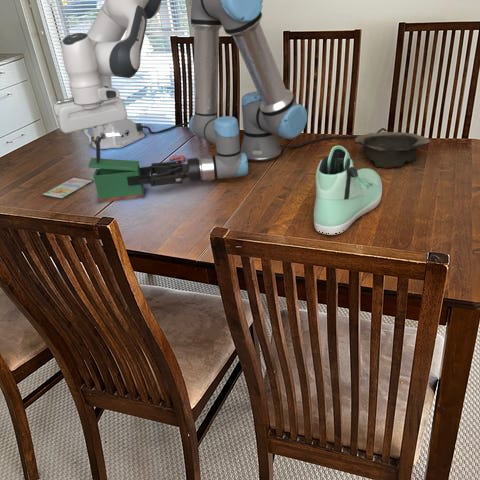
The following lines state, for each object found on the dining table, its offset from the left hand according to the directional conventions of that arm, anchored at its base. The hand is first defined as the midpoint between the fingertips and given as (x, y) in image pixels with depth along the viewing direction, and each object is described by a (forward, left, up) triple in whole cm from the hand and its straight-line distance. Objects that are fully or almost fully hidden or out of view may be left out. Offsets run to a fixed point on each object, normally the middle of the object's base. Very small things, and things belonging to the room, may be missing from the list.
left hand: (98, 140), depth 147 cm
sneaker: (-39, +65, -19) cm, 78 cm away
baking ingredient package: (+6, -18, -19) cm, 27 cm away
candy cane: (-28, -4, -19) cm, 35 cm away
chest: (-3, +2, -19) cm, 20 cm away
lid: (-2, +2, -9) cm, 9 cm away
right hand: (-5, +4, -13) cm, 15 cm away
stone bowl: (-78, +56, -19) cm, 98 cm away
